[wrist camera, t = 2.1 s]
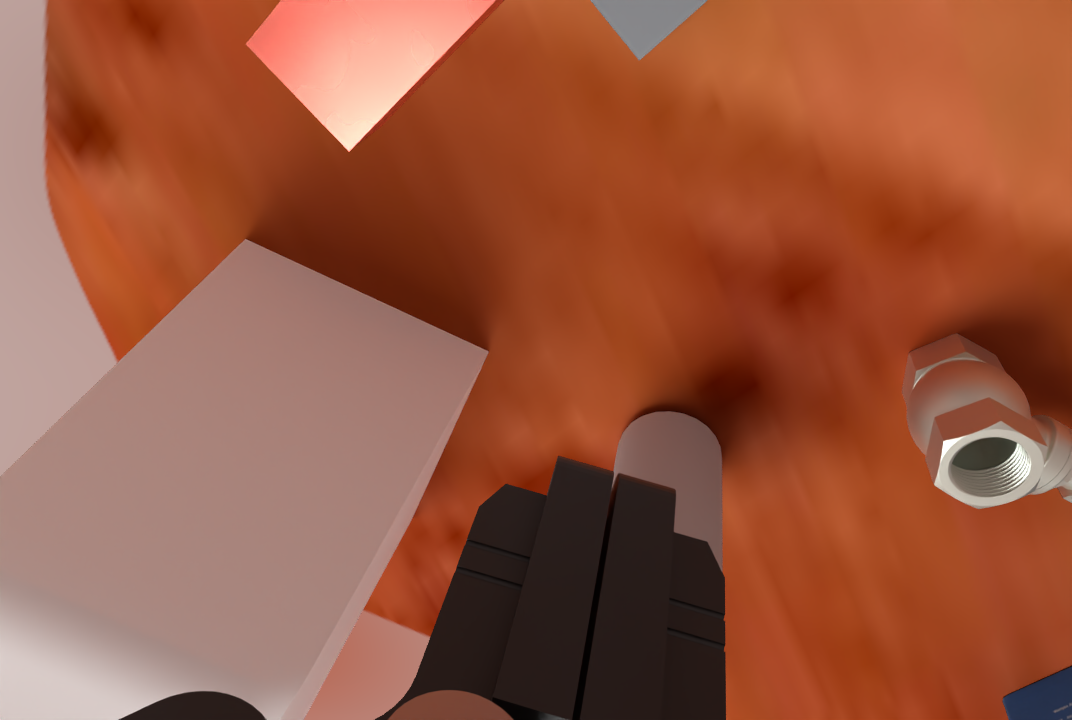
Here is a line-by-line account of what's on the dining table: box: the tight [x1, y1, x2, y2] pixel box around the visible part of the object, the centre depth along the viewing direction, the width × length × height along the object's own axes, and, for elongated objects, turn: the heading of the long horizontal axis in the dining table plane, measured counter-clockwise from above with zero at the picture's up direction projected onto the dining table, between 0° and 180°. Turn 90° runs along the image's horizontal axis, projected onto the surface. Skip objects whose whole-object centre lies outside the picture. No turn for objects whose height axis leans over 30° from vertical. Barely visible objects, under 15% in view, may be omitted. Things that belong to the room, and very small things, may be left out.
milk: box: [0, 239, 489, 720], centre depth 30 cm, size 12×12×26 cm
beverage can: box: [612, 411, 722, 571], centre depth 34 cm, size 5×5×12 cm
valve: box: [902, 333, 1072, 509], centre depth 32 cm, size 7×7×12 cm
